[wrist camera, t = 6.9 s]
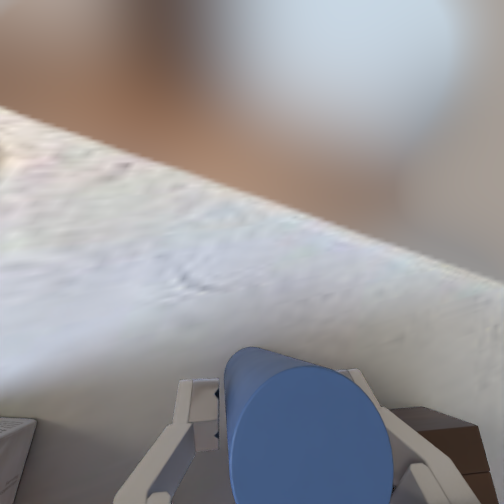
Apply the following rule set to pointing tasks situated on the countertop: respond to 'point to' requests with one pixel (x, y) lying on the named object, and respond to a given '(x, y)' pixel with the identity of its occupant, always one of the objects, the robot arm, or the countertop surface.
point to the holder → (455, 446)
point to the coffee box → (13, 454)
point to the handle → (302, 434)
